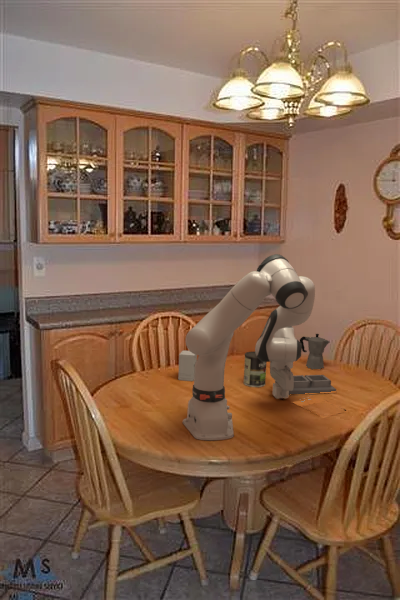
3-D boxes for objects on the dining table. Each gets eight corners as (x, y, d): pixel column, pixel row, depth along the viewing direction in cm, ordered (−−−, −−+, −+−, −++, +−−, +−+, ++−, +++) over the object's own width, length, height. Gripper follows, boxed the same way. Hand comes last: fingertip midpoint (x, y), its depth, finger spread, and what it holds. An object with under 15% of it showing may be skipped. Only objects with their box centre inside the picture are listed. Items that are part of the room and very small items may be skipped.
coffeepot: (329, 366, 261) (331, 333, 257) (326, 371, 252) (328, 337, 249) (299, 362, 267) (302, 329, 263) (296, 367, 258) (298, 333, 255)
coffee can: (269, 383, 232) (271, 354, 230) (258, 389, 224) (259, 359, 222) (250, 378, 238) (252, 350, 236) (239, 383, 230) (240, 354, 228)
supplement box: (193, 381, 231) (194, 355, 229) (177, 380, 233) (178, 354, 230) (196, 376, 238) (197, 351, 236) (181, 375, 240) (182, 349, 238)
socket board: (335, 393, 222) (336, 382, 221) (288, 395, 218) (289, 384, 217) (322, 382, 235) (323, 372, 234) (278, 384, 231) (279, 373, 230)
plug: (288, 400, 212) (289, 386, 211) (275, 400, 211) (276, 387, 210) (284, 395, 217) (285, 382, 216) (272, 396, 216) (273, 383, 215)
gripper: (298, 370, 202) (296, 402, 204) (281, 355, 221) (279, 385, 224) (283, 370, 200) (281, 402, 203) (268, 355, 220) (266, 385, 223)
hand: (280, 393), depth 213 cm, fingers closed on plug, 5 cm apart
